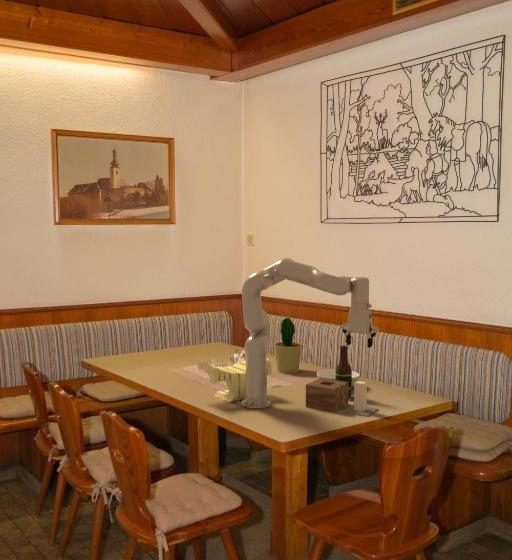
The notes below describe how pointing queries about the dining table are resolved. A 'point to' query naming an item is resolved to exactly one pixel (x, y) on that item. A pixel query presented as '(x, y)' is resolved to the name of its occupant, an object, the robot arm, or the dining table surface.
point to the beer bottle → (344, 369)
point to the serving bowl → (331, 375)
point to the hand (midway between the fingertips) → (359, 345)
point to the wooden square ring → (327, 394)
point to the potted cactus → (287, 349)
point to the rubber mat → (366, 412)
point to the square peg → (360, 396)
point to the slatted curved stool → (230, 379)
